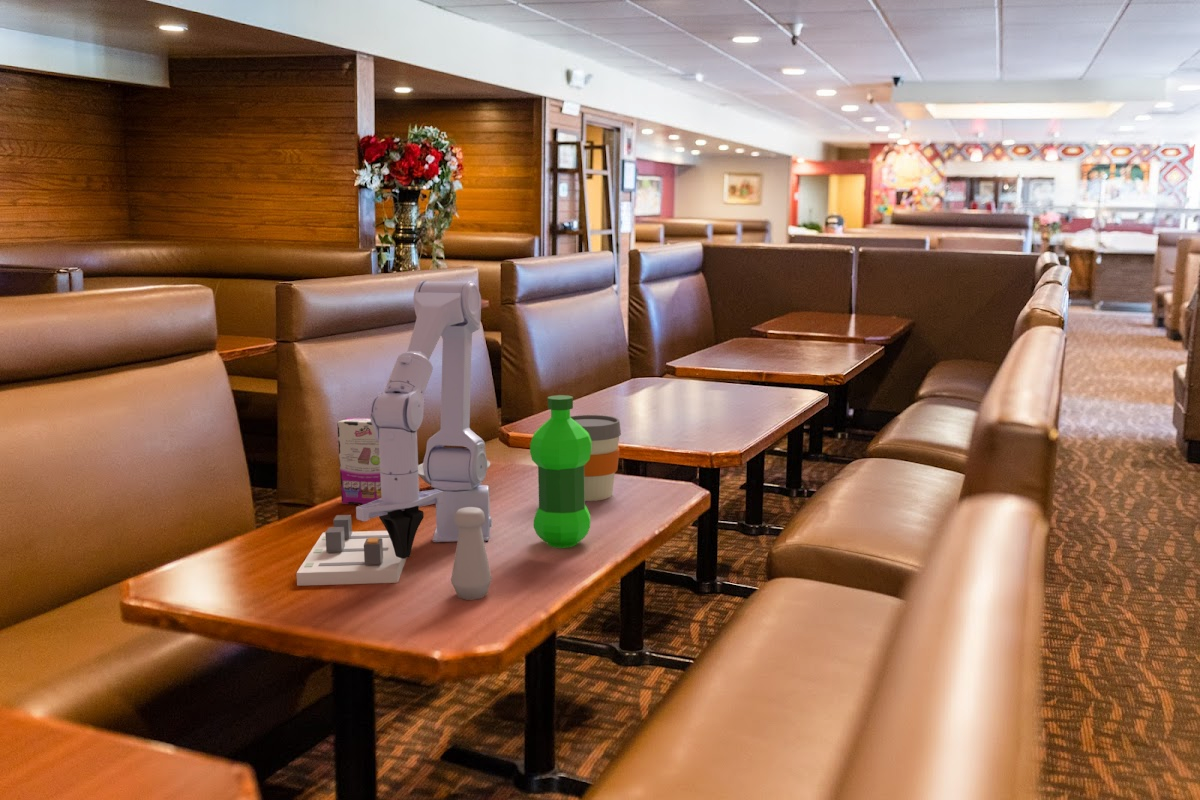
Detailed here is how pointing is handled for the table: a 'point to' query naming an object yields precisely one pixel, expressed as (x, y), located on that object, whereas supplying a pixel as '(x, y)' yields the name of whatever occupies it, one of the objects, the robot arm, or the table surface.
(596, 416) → the reusable coffee cup
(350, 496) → the candy bar box
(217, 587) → the table surface
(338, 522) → the far breaker
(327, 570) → the breaker panel
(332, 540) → the middle breaker
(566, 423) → the plastic bottle
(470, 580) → the salt shaker
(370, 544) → the block
